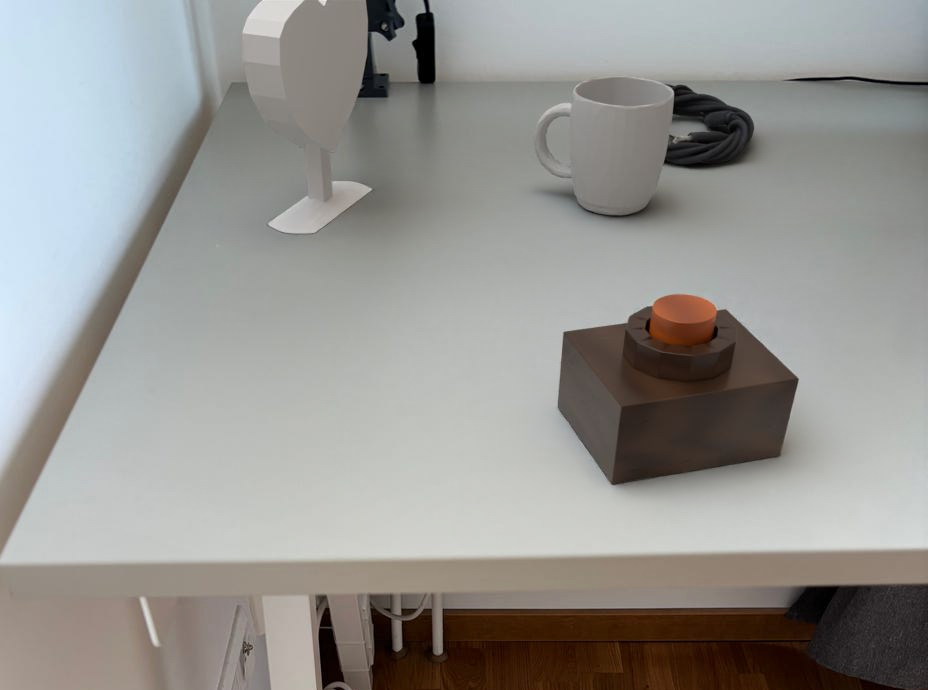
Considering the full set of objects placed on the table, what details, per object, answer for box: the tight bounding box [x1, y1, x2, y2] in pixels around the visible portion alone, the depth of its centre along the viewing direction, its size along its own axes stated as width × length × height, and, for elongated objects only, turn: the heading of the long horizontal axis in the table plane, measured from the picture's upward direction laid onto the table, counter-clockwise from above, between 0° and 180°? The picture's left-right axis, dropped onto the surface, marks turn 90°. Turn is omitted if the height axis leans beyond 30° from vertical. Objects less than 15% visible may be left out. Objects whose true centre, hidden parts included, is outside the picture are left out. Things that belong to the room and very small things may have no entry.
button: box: [649, 293, 718, 346], centre depth 69 cm, size 4×4×2 cm
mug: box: [533, 75, 674, 216], centre depth 101 cm, size 13×9×10 cm
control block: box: [557, 305, 800, 485], centre depth 71 cm, size 12×10×8 cm
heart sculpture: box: [241, 0, 373, 235], centre depth 97 cm, size 16×5×18 cm, turn 156°
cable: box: [664, 83, 755, 165], centre depth 115 cm, size 17×14×4 cm
